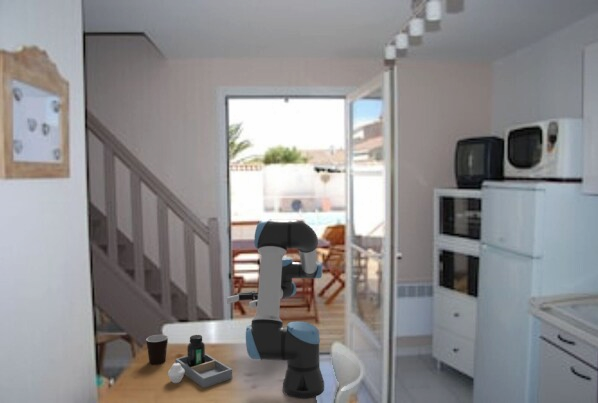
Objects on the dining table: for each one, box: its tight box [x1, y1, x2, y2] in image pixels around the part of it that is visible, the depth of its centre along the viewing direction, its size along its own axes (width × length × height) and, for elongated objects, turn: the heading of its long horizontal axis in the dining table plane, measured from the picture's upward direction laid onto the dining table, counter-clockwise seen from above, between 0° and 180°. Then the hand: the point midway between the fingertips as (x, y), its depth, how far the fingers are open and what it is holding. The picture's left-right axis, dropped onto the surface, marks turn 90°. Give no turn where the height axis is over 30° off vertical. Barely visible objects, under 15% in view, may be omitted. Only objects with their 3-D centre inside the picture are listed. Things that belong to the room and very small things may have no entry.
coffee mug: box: [145, 334, 169, 366], centre depth 179 cm, size 12×9×10 cm
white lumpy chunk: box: [167, 362, 185, 384], centre depth 159 cm, size 6×6×7 cm
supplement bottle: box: [186, 334, 206, 367], centre depth 171 cm, size 7×7×12 cm
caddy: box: [174, 352, 233, 389], centre depth 167 cm, size 23×12×4 cm, turn 41°
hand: (238, 302), depth 182 cm, fingers open, 13 cm apart
